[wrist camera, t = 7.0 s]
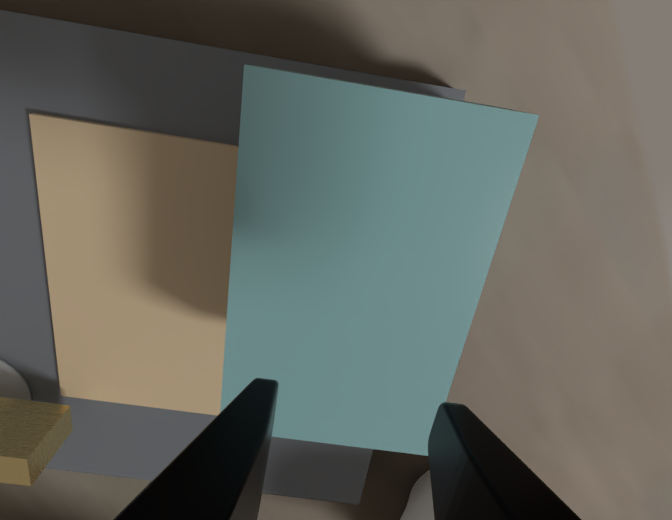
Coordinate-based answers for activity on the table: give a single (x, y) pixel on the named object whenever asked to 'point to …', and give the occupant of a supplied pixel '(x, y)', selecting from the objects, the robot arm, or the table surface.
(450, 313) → the cover
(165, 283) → the panel
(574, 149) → the table surface
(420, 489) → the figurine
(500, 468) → the robot arm
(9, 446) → the yellow rectangular block
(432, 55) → the table surface
